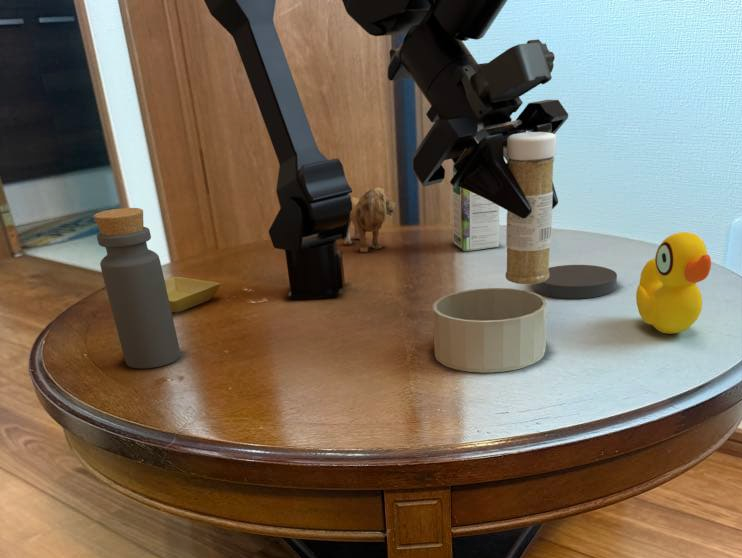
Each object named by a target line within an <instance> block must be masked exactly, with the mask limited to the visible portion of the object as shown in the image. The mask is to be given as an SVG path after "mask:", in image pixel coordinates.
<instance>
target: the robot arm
mask: <svg viewBox="0 0 742 558" xmlns="http://www.w3.org/2000/svg"><path fill="white" fill-rule="evenodd" d="M203 1H204V3H205V6H206V7H207V10H208V11H209V14H210V15H211V16H212V17H213V18H214V19H215V21H217V22H218V24H220V25H221V26H222V27H223V29H225V31H226V32H228V33H229V34H230V35H231V37H232V38H233V40H234V43H235V46H236V48H237V51H238V53H239V57H240V60H241V62H242V65H243V68H244V71H245V74H246V76H247V79H248V82H249V84H250V88H251V90H252V93H253V95H254V98H255V100H256V104H257V106H258V108H259V112H260V115H261V117H262V120H263V123H264V125H265V128H266V130H267V131H266V132H267V133H268V136H269V140H270V142H271V144H272V147H273V150H274V153H275V156H276V158H277V161H278V165H279V168H278V173H277V182H276V189H275V190H276V192H275V193H276V197H277V200H278V203H279V208H280V209H279V210H278V212H277V214H276V216H275V217H274V219H273V221H272V224H271V225H270V227H269V229H268V234H269V235H268V236H269V238H270V240H271V244H272V246H273V248H274V249H277V250H278V249H279V250H284V253H285V260H286V267H287V274H288V275H287V276H288V282H289V289H290V290H289V293H288V294H287V296H288V299H289V300H296V299H297V300H299V299H300V300H301V299H318V298H320V299H321V298H337V297H339V296H340V293H341V291H342V289H343V288H344V286H345V283H346V280H345V271H344V270H345V269H344V261H343V259H344V258H343V252H342V251H341V250H338V244H337V241H338V240H341V239H342V240H343V239H344V240H345V238H346V237H347V230H348V224H349V217H350V211H352V201H351V194H352V193H353V189H352V188H351V186H350V185H349V183H348V181H347V178H346V175H345V170H344V165H343V163H342V162H341V160H340V159H339V158H338V157H337V158H331V159H328V158H327V157H326V156H325V155H324V154H323V153H322V152H321V151H320V150H319V148H318V146H317V143H316V140H315V137H314V134H313V131H312V128H311V125H310V123H309V120H308V117H307V114H306V111H305V108H304V105H303V103H302V100H301V97H300V94H299V91H298V89H297V85H296V82H295V80H294V77H293V74H292V71H291V68H290V66H289V63H288V60H287V57H286V54H285V51H284V49H283V46H282V43H281V39H280V38H279V34H278V31H277V28H276V26H275V21H274V18H275V11H276V3H277V0H203ZM341 1H342V4H343V7H344V9H345V12H346V13H347V15H348V16H349V17H350V18H351V19H352V20H353V21H354V22H355V23H356V24H357V25H358V26H360V27H361V28H362V30H364V31H365V32H366V33H367V34H368V35H370V36H373V37H383V36H385V37H387V36H397V35H405V36H404V38H403V40H402V42H401V43H400V44H399V47H398V48H391V49H390V50H389V63H388V65H387V79H388V80H389V81H399V80H400V81H401V80H406V79H408V80H409V79H412V80H413V82H414V83H415V85H416V86H417V88H418V89H419V91H421V93H422V94H423V96H424V98H425V99H426V100H427V102H428V103H429V105H430V108H429V109H428V111H426V113H425V115H426V117H427V118H428V120H429V121H430V122H431V123H432V126H431V127H430V128H429V131H427V133H426V135H425V136H424V138H423V139H422V140H421V141H420V144H419V145H418V147H417V148H416V150H415V151H414V152H413V154H412V155H411V156H412V157H411V158H412V172H413V173H414V175H415V176H416V178H417V180H418V181H419V182H420V183H421V185H422V186H423V188H425V187H428V186H432V185H436V184H437V185H438V184H441V183H442V182H443V181H444V179H445V176H446V169H445V168H444V167H443V163H444V162H445V161H448V160H452V163H453V162H454V163H455V164H454V167H455V169H456V170H457V173H456V174H455V175H454V177H453V176H452V178H451V179H450V181H449V184H450V185H451V186H452V187H453V186H460V187H462V188H464V189H466V190H468V191H470V192H472V193H475V194H477V195H479V196H481V197H483V198H485V199H487V200H489V201H491V202H493V203H495V204H497V205H499V207H500V208H502V209H504V210H506V211H507V210H508V211H510V212H512V213H513V214H515V215H517V216H519V217H521V218H523V219H524V218H527V217H528V216H529V215H530V213H531V212H532V209H531V207H530V205H529V203H528V201H527V199H526V197H525V195H524V193H523V191H522V190H521V188H520V186H519V185H518V183H517V181H516V179H515V178H514V176H513V174H512V172H511V171H510V169H509V163H508V160H509V158H507V138H508V137H509V136H510V135H513V134H518V133H526V132H548V133H553V134H555V135H556V133H557V132H558V131H559V129H561V127H562V126H563V125H564V123H565V122H566V121H567V120H568V119H569V113H568V112H567V110H566V109H565V107H564V106H563V104H562V103H561V102H560V100H559V99H544V100H538V101H533V102H528V103H527V105H526V106H525V107H524V109H523V110H522V111H521V112H520V113H519V115H518V116H517V117H516V119H515V120H513V119H512V117H511V116H512V115H513V114H514V113H516V112H517V111H518V110H519V109H520V108H521V106H522V105H523V104H524V102H523V100H522V99H521V96H523V95H525V94H526V93H529V92H530V91H531V90H533V89H535V88H536V87H538V86H539V85H545V84H547V83H549V82H550V81H551V80H552V78H553V77H552V72H553V69H554V67H555V66H554V62H555V59H556V58H555V54H554V52H553V51H550V50H549V49H548V45H547V43H546V42H545V43H543V42H542V41H541V40H540V39H538V38H537V39H529V40H527V41H526V43H519V44H515V45H513V46H511V47H510V48H508V49H506V50H504V51H503V52H502V53H500V54H499V55H497V56H496V57H494V58H493V59H492V60H490V61H488V62H485V63H478V61H477V60H476V59H475V57H474V56H473V55H472V54H471V51H470V50H469V49H468V47H467V46H466V45H465V43H464V42H466V41H469V39H470V40H481V39H483V38H484V37H485V35H486V34H487V32H488V31H489V30H490V28H491V26H492V24H493V23H494V21H496V18H497V17H499V14H500V13H501V11H502V9H504V7H505V5H506V3H507V2H508V0H341ZM505 160H506V161H505ZM555 188H556V187H555V184H554V181H553V182H552V191H553V199H552V210H554V209H555V207H556V206H557V205H558V204H559V198H558V196H557V191H556V189H555Z"/></svg>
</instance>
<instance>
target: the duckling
mask: <svg viewBox="0 0 742 558" xmlns="http://www.w3.org/2000/svg"><path fill="white" fill-rule="evenodd" d="M707 251H708V250H707V247H706V244H705V242H704V241H703V239H702V238H701V237H700V236H699V235H697V234H696V233H692V232H688V231H679V232H676V233H673V234H670V235H669V236H667V237H666V238H664V239H663V240H662V241H661V243H660V244H659V246H658V248H657V250H656V252H655V257H654V258H652V259H650V260H648V261H647V262H646V263H645V265H644V266H643V268H642V270H641V272H640V277H639V284H638V285H637V288H636V293H635V294H636V295H635V301H636V307H637V311H638V313H639V315H640V317H641V319H642V321H643V322H644V323H645V324H648V325H651V326H652V327H654V329H656V330H657V331H659V332H660V333H663V334H671V335H672V334H679V333H682V332H685V331H687V330H688V329H689V328H691V326H692V325H694V324H695V322H696V321H698V319H699V317H700V316H701V312H702V308H703V297H702V293H701V290H700V289H699V287H698V285H697V283H700V282H702V281H705V280H706V278H708V276H709V274H710V272H711V266H712V258H711V256H710V254H708V252H707Z"/></svg>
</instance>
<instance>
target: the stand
mask: <svg viewBox="0 0 742 558" xmlns="http://www.w3.org/2000/svg"><path fill="white" fill-rule="evenodd" d="M548 270H549V278H548V279H547V280H546V281H544V282H542V283H536V284H533V288H534V291H535V292H536V293H537V294H539V295H541V296H542V295H543V296H546V297H549V298H555V299H564V300H565V299H567V300H568V299H569V300H574V299H575V300H579V299H580V300H581V299H593V298H598V297H603V296H606V295H609V294H611V293H613V292H614V291H615V290H616V288H617V281H618V274H617V272H616V271H615V270H613V269H611V268H608V267H605V266H600V265H593V264H563V265H556V266H551V267H549V269H548Z"/></svg>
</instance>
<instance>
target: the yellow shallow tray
mask: <svg viewBox="0 0 742 558" xmlns="http://www.w3.org/2000/svg"><path fill="white" fill-rule="evenodd" d="M164 280H165V285H166V289H167V294H168V298H169V303H170V307H171V312H172V313H175V314H176V313H180V312H182V311H183V312H184V311H185V310H187V309H190V308H193V307H195V306H198V305H201V304H204V303H207V302H209V301H210V300H211V299H213V297H214V296H215V294H217V292H218V290H219V288H220V287H221V283H220V282H217V281H209V280H204V279H194V278H187V277H180V276H174V277H173V276H172V277H169V278H167V279H164Z"/></svg>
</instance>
